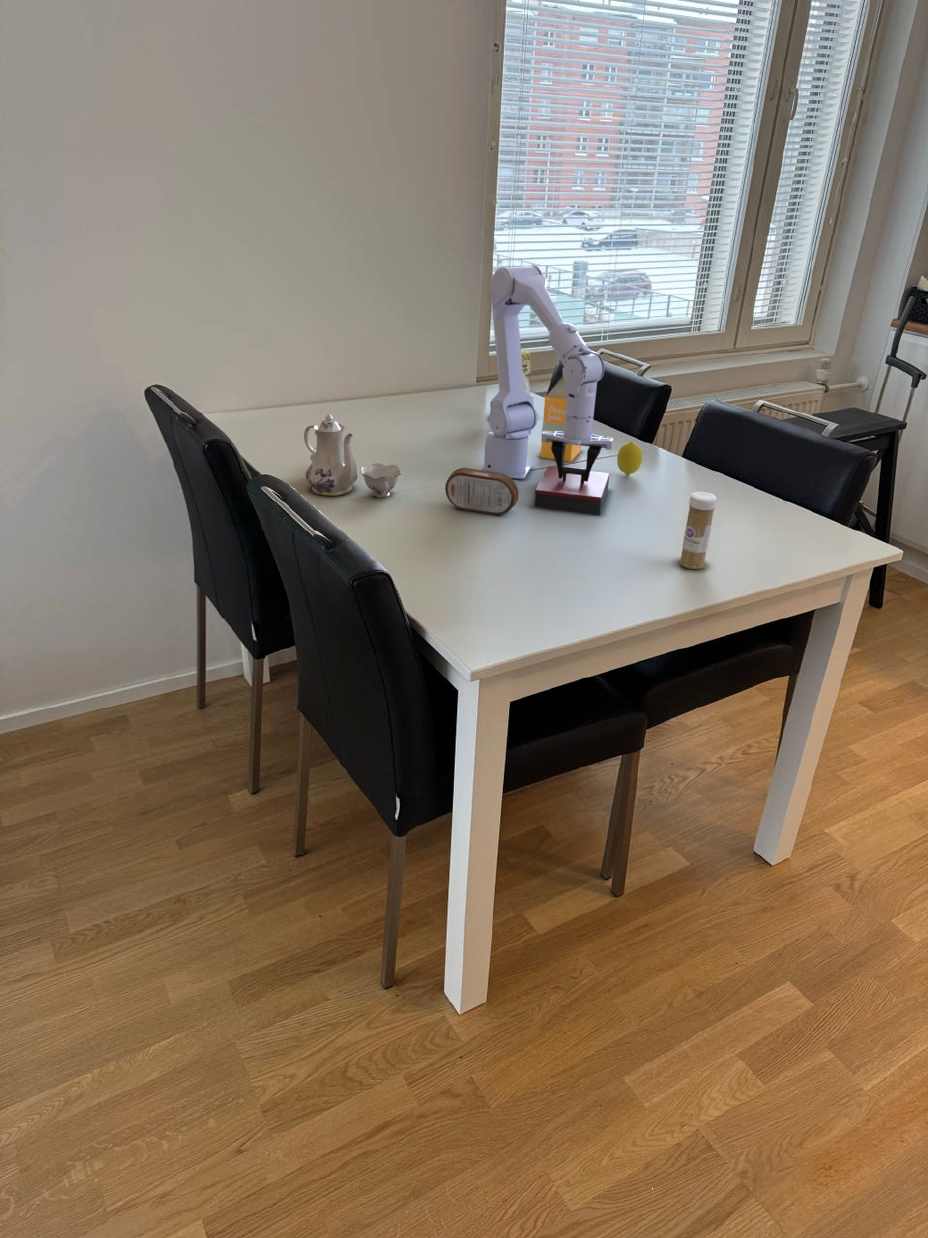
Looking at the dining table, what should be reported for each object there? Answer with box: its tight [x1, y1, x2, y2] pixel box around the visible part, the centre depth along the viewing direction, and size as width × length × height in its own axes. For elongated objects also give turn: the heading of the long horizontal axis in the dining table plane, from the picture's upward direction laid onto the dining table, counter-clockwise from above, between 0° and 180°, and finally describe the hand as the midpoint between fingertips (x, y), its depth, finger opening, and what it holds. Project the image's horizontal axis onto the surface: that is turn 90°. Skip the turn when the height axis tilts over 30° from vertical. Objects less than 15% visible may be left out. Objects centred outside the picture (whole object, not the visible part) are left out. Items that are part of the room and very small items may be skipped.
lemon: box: [616, 441, 643, 477], centre depth 207 cm, size 6×6×8 cm
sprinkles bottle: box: [679, 491, 718, 570], centre depth 164 cm, size 5×5×14 cm
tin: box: [444, 467, 519, 516], centre depth 185 cm, size 15×3×8 cm, turn 71°
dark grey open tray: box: [533, 478, 610, 516], centre depth 194 cm, size 15×14×3 cm
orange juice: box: [539, 375, 582, 463], centre depth 216 cm, size 8×9×20 cm
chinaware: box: [303, 413, 403, 498], centre depth 193 cm, size 28×17×17 cm, turn 47°
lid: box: [534, 465, 611, 501], centre depth 192 cm, size 15×14×4 cm
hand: (573, 478), depth 192 cm, fingers closed on lid, 5 cm apart
